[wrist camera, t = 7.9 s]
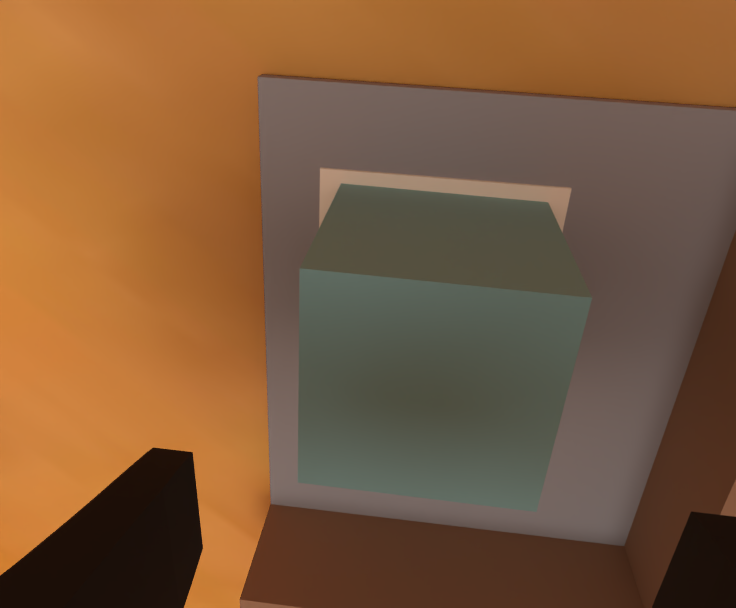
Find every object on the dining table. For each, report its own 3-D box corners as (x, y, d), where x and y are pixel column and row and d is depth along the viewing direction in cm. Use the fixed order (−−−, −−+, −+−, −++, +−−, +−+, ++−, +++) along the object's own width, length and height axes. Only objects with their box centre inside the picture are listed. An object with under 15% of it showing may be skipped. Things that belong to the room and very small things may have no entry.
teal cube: (547, 202, 15) (591, 298, 10) (512, 375, 17) (536, 511, 13) (341, 183, 15) (300, 268, 11) (333, 355, 18) (297, 482, 13)
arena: (838, 115, 14) (973, 163, 10) (656, 573, 21) (699, 694, 17) (262, 74, 15) (205, 105, 11) (274, 526, 22) (242, 633, 18)
